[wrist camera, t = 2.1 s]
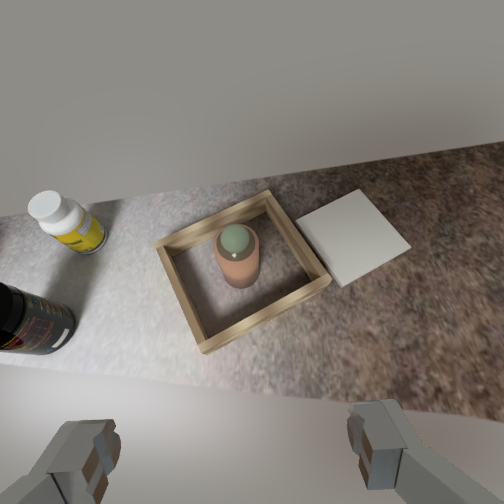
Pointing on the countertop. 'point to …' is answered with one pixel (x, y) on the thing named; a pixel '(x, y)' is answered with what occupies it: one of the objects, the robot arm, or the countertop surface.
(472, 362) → the countertop surface
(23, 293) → the supplement container
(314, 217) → the paving tile
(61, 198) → the supplement bottle
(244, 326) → the brown wooden rectangular frame
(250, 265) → the peach bottle
